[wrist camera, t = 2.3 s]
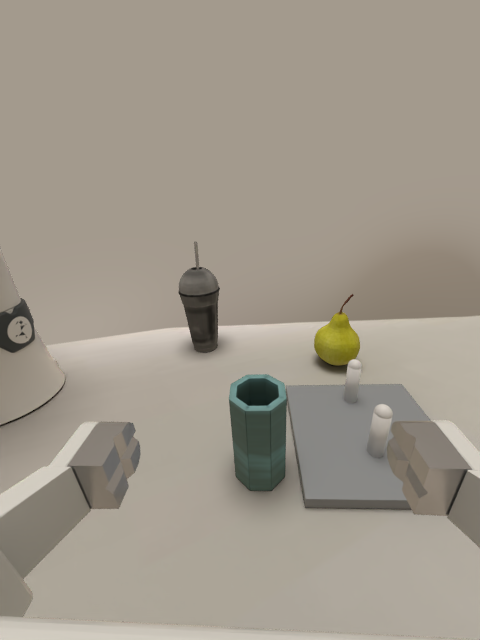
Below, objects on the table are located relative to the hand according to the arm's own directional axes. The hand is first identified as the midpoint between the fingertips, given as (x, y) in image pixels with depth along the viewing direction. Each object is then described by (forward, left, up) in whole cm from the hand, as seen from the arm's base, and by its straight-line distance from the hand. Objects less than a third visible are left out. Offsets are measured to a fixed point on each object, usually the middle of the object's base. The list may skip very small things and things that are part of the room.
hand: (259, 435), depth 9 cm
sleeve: (0, +13, -19) cm, 23 cm away
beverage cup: (-10, +39, -19) cm, 45 cm away
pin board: (+12, +17, -19) cm, 28 cm away
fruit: (+13, +33, -19) cm, 40 cm away
